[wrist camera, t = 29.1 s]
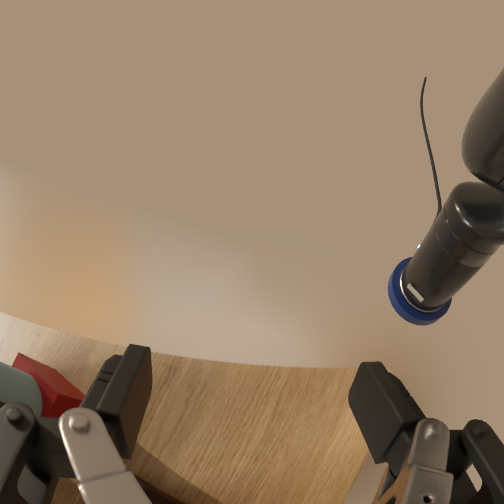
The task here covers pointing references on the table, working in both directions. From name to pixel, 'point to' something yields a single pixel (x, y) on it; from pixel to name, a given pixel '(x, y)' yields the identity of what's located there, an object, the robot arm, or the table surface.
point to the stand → (156, 494)
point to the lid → (2, 403)
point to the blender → (37, 387)
